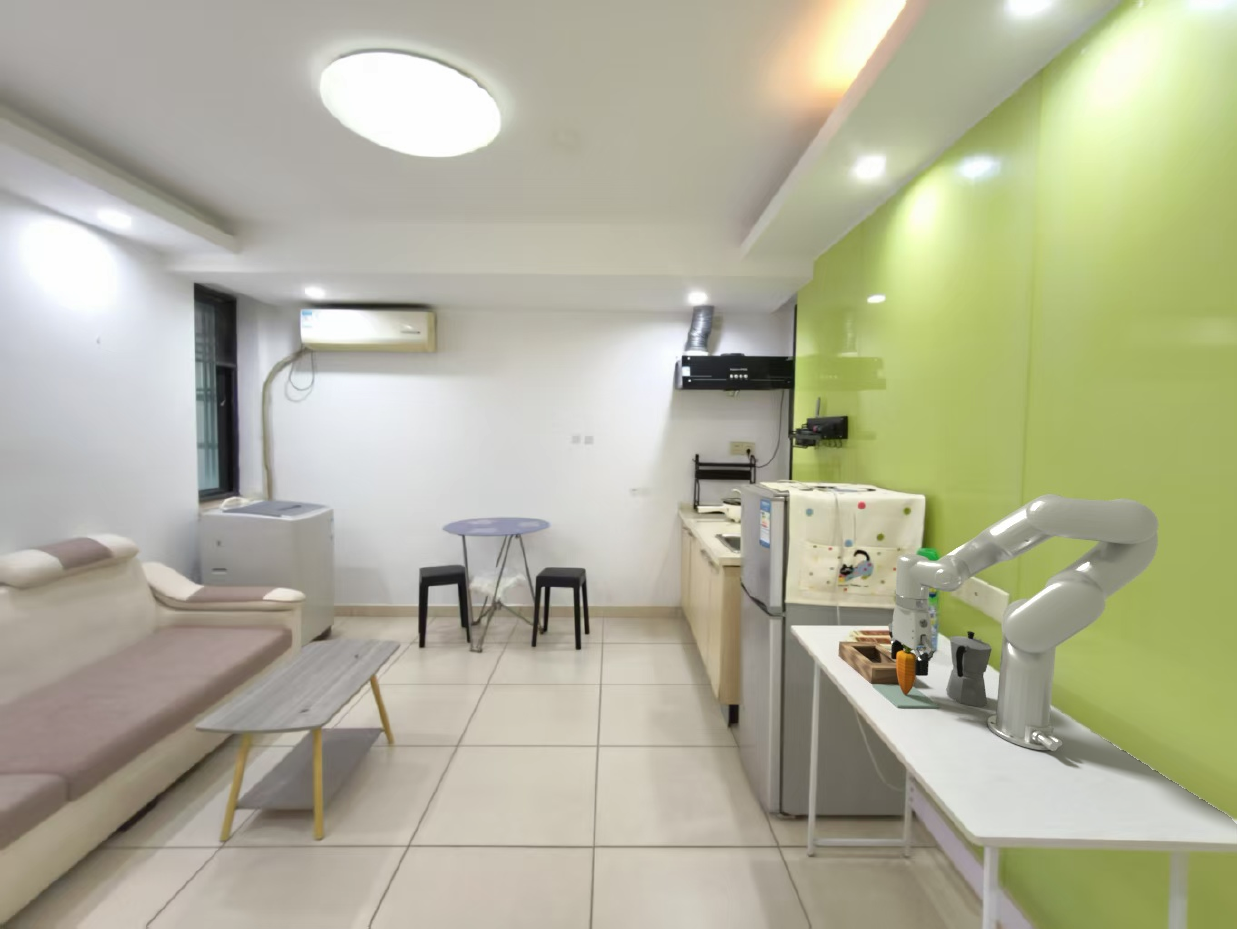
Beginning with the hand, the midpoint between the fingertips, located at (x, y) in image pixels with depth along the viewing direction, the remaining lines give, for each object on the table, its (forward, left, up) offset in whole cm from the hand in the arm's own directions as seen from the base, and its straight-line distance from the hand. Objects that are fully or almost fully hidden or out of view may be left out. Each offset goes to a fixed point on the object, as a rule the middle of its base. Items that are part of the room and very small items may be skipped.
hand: (908, 666), depth 132 cm
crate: (+16, -1, -8) cm, 18 cm away
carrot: (0, 0, -8) cm, 8 cm away
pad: (0, 0, -8) cm, 8 cm away
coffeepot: (-1, -16, -9) cm, 18 cm away
